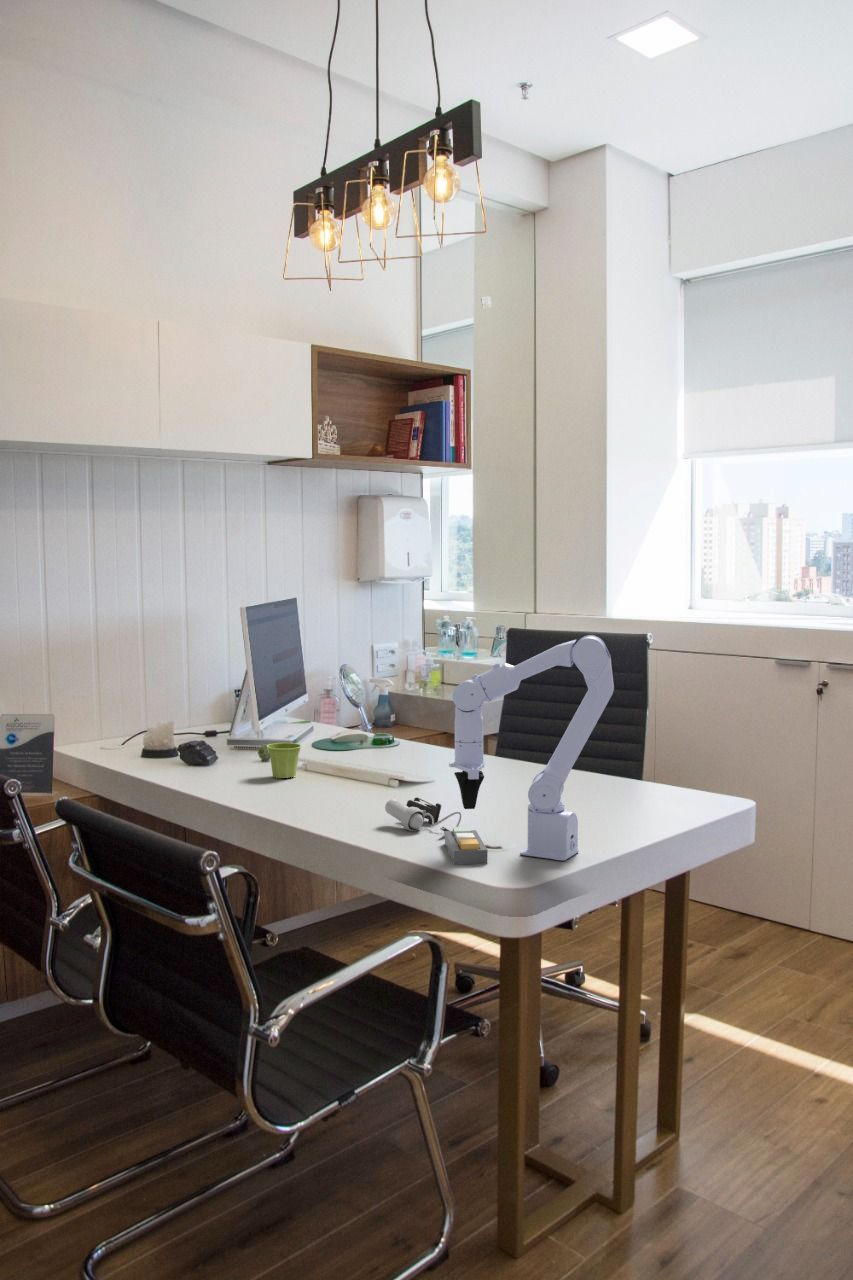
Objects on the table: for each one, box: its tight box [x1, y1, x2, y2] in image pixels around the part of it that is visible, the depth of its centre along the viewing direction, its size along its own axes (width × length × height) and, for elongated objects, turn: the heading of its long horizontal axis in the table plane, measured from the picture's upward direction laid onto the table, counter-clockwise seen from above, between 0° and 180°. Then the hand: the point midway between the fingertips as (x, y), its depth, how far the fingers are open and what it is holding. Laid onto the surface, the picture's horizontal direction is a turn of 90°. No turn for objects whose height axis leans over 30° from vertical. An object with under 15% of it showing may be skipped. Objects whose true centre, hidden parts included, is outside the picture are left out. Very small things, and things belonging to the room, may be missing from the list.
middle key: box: [456, 833, 475, 843], centre depth 208 cm, size 3×3×2 cm
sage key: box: [452, 826, 472, 837], centre depth 213 cm, size 3×3×2 cm
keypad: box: [444, 829, 488, 865], centre depth 208 cm, size 15×6×3 cm, turn 6°
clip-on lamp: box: [384, 797, 462, 834], centre depth 228 cm, size 12×6×18 cm
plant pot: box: [266, 742, 302, 779], centre depth 285 cm, size 9×9×9 cm
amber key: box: [459, 839, 479, 850], centre depth 203 cm, size 3×3×2 cm
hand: (469, 808), depth 210 cm, fingers closed
